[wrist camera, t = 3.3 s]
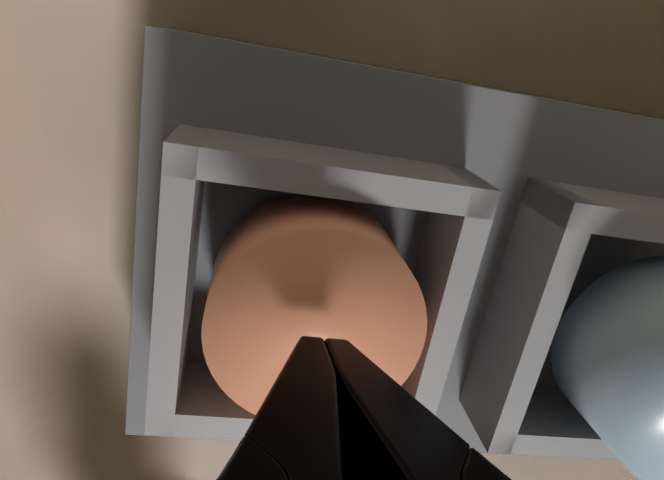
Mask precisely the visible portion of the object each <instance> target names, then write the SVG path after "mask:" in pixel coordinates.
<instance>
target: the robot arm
mask: <svg viewBox="0 0 664 480" xmlns="http://www.w3.org/2000/svg"><path fill="white" fill-rule="evenodd" d="M216 480H511V479H510V478H509V477H508V476H506V475H505V474H504V473H503V472H501V471H500V470H499V469H498V468H497V467H495V466H494V465H493V464H492V463H490V462H489V461H488V460H487V459H486V458H485V457H483V456H482V455H481V454H480V453H479V452H478V451H476V450H475V449H474V448H470V445H469V444H468V443H467V442H466V441H465V440H463V439H462V438H461V437H460V436H459V435H458V434H456V433H455V432H454V431H453V430H452V429H451V428H449V427H448V426H447V425H446V424H445V423H444V422H442V421H441V420H440V419H439V418H438V417H437V416H435V415H434V414H433V413H432V412H431V411H430V410H428V409H427V408H426V407H425V406H424V405H423V404H421V403H420V402H419V401H418V400H417V399H416V398H414V397H413V396H412V395H411V394H410V393H409V392H407V391H406V390H405V389H404V388H403V387H402V386H400V385H399V384H398V383H397V382H396V381H395V380H393V379H392V378H391V377H390V376H389V375H388V374H386V373H385V372H384V371H383V370H382V369H381V368H379V367H378V366H377V365H376V364H375V363H374V362H372V361H371V360H370V359H369V358H368V357H367V356H365V355H364V354H363V353H362V352H361V351H360V350H358V349H357V348H356V347H355V346H354V345H352V344H351V343H350V342H349V341H348V340H345V339H334V338H327V339H325V340H324V339H323V338H321V337H311V336H302V337H300V339H299V340H298V342H297V344H296V345H295V347H294V349H293V351H292V352H291V354H290V356H289V358H288V359H287V361H286V363H285V365H284V366H283V368H282V370H281V372H280V373H279V375H278V377H277V379H276V381H275V382H274V384H273V386H272V388H271V389H270V391H269V393H268V395H267V396H266V398H265V400H264V402H263V403H262V405H261V407H260V409H259V410H258V412H257V414H256V416H255V417H254V419H253V421H252V423H251V424H250V426H249V428H248V430H247V431H246V433H245V435H244V437H243V438H242V440H241V441H240V443H239V445H238V447H237V448H236V450H235V452H234V453H233V455H232V457H231V458H230V460H229V461H228V463H227V464H226V466H225V468H224V469H223V471H222V472H221V474H220V475H219V477H218V478H217V479H216Z"/></svg>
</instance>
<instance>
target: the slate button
mask: <svg viewBox="0 0 664 480" xmlns="http://www.w3.org/2000/svg"><path fill="white" fill-rule="evenodd" d="M551 365H552V371H553V375H554V378H555V381H556V383H557V385H558V387H559V389H560V390H561V391H562V392H563V394H564V395H565V396H566V397H567V399H568V400H569V401H570V402H571V403H572V405H573V406H574V407H575V408H576V409H577V411H578V412H579V413H580V414H581V415H582V416H583V418H584V419H585V420H586V421H587V422H588V424H589V425H590V426H591V427H592V428H593V430H594V431H595V432H596V433H597V434H598V435H599V437H600V438H601V439H602V440H603V441H604V443H605V444H606V445H607V446H608V447H609V448H610V450H611V451H612V452H613V453H614V454H615V456H616V457H617V458H618V459H619V460H620V462H621V463H622V464H623V465H624V466H625V467H626V469H627V470H628V471H629V472H630V473H632V474H633V475H634V476H635V477H637V478H638V479H640V480H664V256H652V257H647V258H641V259H637V260H634V261H631V262H628V263H626V264H623V265H621V266H619V267H616V268H614V269H613V270H611V271H609V272H607V273H606V274H604V275H603V276H601V277H600V278H598V279H597V280H596V281H594V282H593V283H592V284H591V285H589V286H588V287H587V288H586V289H585V290H584V291H583V292H582V293H581V294H580V295H579V296H578V297H577V298H576V299H575V300H574V302H573V303H572V304H571V306H570V307H569V308H568V310H567V311H566V313H565V315H564V316H563V318H562V320H561V322H560V324H559V326H558V329H557V331H556V334H555V337H554V340H553V345H552V351H551Z"/></svg>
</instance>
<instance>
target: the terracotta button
mask: <svg viewBox="0 0 664 480" xmlns="http://www.w3.org/2000/svg"><path fill="white" fill-rule="evenodd" d="M426 334H427V311H426V305H425V301H424V297H423V294H422V291H421V289H420V286H419V284H418V282H417V280H416V279H415V277H414V276H413V274H412V272H411V271H410V269H409V267H408V266H407V264H406V263H405V261H404V260H403V258H402V256H401V255H400V253H399V252H398V250H397V248H396V247H395V245H394V244H393V242H392V241H391V239H390V237H389V236H388V234H387V233H386V231H385V229H384V228H383V227H382V226H381V224H380V223H379V222H378V221H377V220H376V219H375V218H374V217H373V216H372V215H371V214H370V213H369V212H367V211H366V210H364V209H363V208H361V207H360V206H358V205H357V204H355V203H353V202H351V201H347V200H340V199H333V198H325V197H318V196H311V195H303V194H296V193H295V194H289V195H284V196H281V197H278V198H275V199H272V200H269V201H267V202H265V203H263V204H261V205H259V206H258V207H256V208H254V209H253V210H251V211H250V212H248V213H247V214H246V215H245V216H244V217H242V218H241V219H240V220H239V221H238V222H237V223H236V224H235V225H234V226H233V228H232V229H231V230H230V231H229V233H228V234H227V236H226V237H225V239H224V241H223V243H222V245H221V247H220V249H219V251H218V254H217V257H216V260H215V264H214V269H213V273H212V278H211V283H210V287H209V292H208V296H207V301H206V305H205V310H204V315H203V321H202V333H201V340H202V347H203V353H204V356H205V360H206V363H207V366H208V368H209V370H210V372H211V374H212V376H213V378H214V379H215V381H216V382H217V384H218V385H219V387H220V388H221V389H222V390H223V391H224V392H225V393H226V395H227V396H228V397H229V398H231V399H232V400H233V401H234V402H235V403H236V404H238V405H239V406H241V407H242V408H244V409H245V410H247V411H248V412H250V413H252V414H254V415H256V414H257V412H258V410H259V409H260V407H261V405H262V403H263V402H264V400H265V398H266V396H267V395H268V393H269V391H270V389H271V388H272V386H273V384H274V382H275V381H276V379H277V377H278V375H279V373H280V372H281V370H282V368H283V366H284V365H285V363H286V361H287V359H288V358H289V356H290V354H291V352H292V351H293V349H294V347H295V345H296V344H297V342H298V340H299V339H300V337H302V336H311V337H321V338H323V339H324V340H325V339H327V338H334V339H345V340H348V341H349V342H350V343H351V344H352V345H354V346H355V347H356V348H357V349H358V350H360V351H361V352H362V353H363V354H364V355H365V356H367V357H368V358H369V359H370V360H371V361H372V362H374V363H375V364H376V365H377V366H378V367H379V368H381V369H382V370H383V371H384V372H385V373H386V374H388V375H389V376H390V377H391V378H392V379H393V380H395V381H396V382H397V383H398V384H399V385H400V386H402V384H403V383H404V382H405V381H406V380H407V379H408V377H409V376H410V374H411V373H412V371H413V370H414V368H415V366H416V364H417V362H418V360H419V358H420V356H421V353H422V350H423V347H424V344H425V339H426Z"/></svg>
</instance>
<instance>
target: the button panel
mask: <svg viewBox="0 0 664 480" xmlns="http://www.w3.org/2000/svg"><path fill="white" fill-rule="evenodd" d="M295 193H296V194H303V195H311V196H318V197H325V198H333V199H340V200H347V201H351V202H353V203H355V204H357V205H358V206H360V207H361V208H363V209H364V210H366V211H367V212H369V213H370V214H371V215H372V216H373V217H374V218H375V219H376V220H377V221H378V222H379V223H380V224H381V226H382V227H383V228H384V229H385V231H386V233H387V234H388V236H389V237H390V239H391V241H392V242H393V244H394V245H395V247H396V248H397V250H398V252H399V253H400V255H401V256H402V258H403V260H404V261H405V263H406V264H407V266H408V267H409V269H410V271H411V272H412V274H413V276H414V277H415V279H416V280H417V282H418V284H419V286H420V289H421V291H422V294H423V297H424V301H425V305H426V311H427V334H426V339H425V344H424V347H423V350H422V353H421V356H420V358H419V360H418V362H417V364H416V366H415V368H414V370H413V371H412V373H411V374H410V376H409V377H408V379H407V380H406V381H405V382H404V383H403V384H402V387H403V388H404V389H405V390H406V391H407V392H409V393H410V394H411V395H412V396H413V397H414V398H416V399H417V400H418V401H419V402H420V403H421V404H423V405H424V406H425V407H426V408H427V409H428V410H430V411H431V412H432V413H433V414H434V415H435V416H437V417H438V418H439V419H440V420H441V421H442V422H444V423H445V424H446V425H447V426H448V427H449V428H451V429H452V430H453V431H454V432H455V433H456V434H458V435H459V436H460V437H461V438H462V439H463V440H465V441H466V442H467V443H468V444H469V445H470V448H474V449H475V450H476V451H478V452H479V453H493V454H512V455H532V456H551V457H571V458H590V459H610V460H619V459H618V458H617V457H616V456H615V454H614V453H613V452H612V451H611V450H610V448H609V447H608V446H607V445H606V444H605V443H604V441H603V440H602V439H601V438H600V437H599V435H598V434H597V433H596V432H595V431H594V430H593V428H592V427H591V426H590V425H589V424H588V422H587V421H586V420H585V419H584V418H583V416H582V415H581V414H580V413H579V412H578V411H577V409H576V408H575V407H574V406H573V405H572V403H571V402H570V401H569V400H568V399H567V397H566V396H565V395H564V394H563V392H562V391H561V390H560V389H559V387H558V385H557V383H556V381H555V378H554V375H553V371H552V365H551V351H552V345H553V340H554V337H555V334H556V331H557V329H558V326H559V324H560V322H561V320H562V318H563V316H564V315H565V313H566V311H567V310H568V308H569V307H570V306H571V304H572V303H573V302H574V300H575V299H576V298H577V297H578V296H579V295H580V294H581V293H582V292H583V291H584V290H585V289H586V288H587V287H588V286H589V285H591V284H592V283H593V282H594V281H596V280H597V279H598V278H600V277H601V276H603V275H604V274H606V273H607V272H609V271H611V270H613V269H614V268H616V267H619V266H621V265H623V264H626V263H628V262H631V261H634V260H637V259H641V258H647V257H652V256H664V119H659V118H653V117H648V116H643V115H637V114H632V113H626V112H621V111H616V110H610V109H605V108H599V107H594V106H589V105H583V104H578V103H572V102H567V101H561V100H556V99H551V98H545V97H540V96H534V95H529V94H524V93H518V92H513V91H507V90H502V89H497V88H491V87H486V86H480V85H475V84H470V83H464V82H459V81H453V80H448V79H443V78H437V77H432V76H426V75H421V74H415V73H410V72H405V71H399V70H394V69H388V68H383V67H378V66H372V65H367V64H361V63H356V62H351V61H345V60H340V59H334V58H329V57H324V56H318V55H313V54H307V53H302V52H296V51H291V50H286V49H280V48H275V47H269V46H264V45H259V44H253V43H248V42H242V41H237V40H232V39H226V38H221V37H215V36H210V35H205V34H199V33H194V32H188V31H183V30H177V29H172V28H164V27H155V26H146V25H145V38H144V59H143V79H142V100H141V120H140V141H139V161H138V182H137V202H136V223H135V243H134V264H133V284H132V305H131V325H130V346H129V366H128V387H127V407H126V428H125V435H142V436H162V437H181V438H201V439H220V440H239V441H241V440H242V438H243V437H244V435H245V433H246V431H247V430H248V428H249V426H250V424H251V423H252V421H253V419H254V417H255V416H256V415H254V414H252V413H250V412H248V411H247V410H245V409H244V408H242V407H241V406H239V405H238V404H236V403H235V402H234V401H233V400H232V399H231V398H229V397H228V396H227V395H226V393H225V392H224V391H223V390H222V389H221V388H220V387H219V385H218V384H217V382H216V381H215V379H214V378H213V376H212V374H211V372H210V370H209V368H208V366H207V363H206V360H205V356H204V353H203V347H202V340H201V333H202V321H203V315H204V310H205V305H206V301H207V296H208V292H209V287H210V283H211V278H212V273H213V269H214V264H215V260H216V257H217V254H218V251H219V249H220V247H221V245H222V243H223V241H224V239H225V237H226V236H227V234H228V233H229V231H230V230H231V229H232V228H233V226H234V225H235V224H236V223H237V222H238V221H239V220H240V219H241V218H242V217H244V216H245V215H246V214H247V213H248V212H250V211H251V210H253V209H254V208H256V207H258V206H259V205H261V204H263V203H265V202H267V201H269V200H272V199H275V198H278V197H281V196H284V195H289V194H295Z"/></svg>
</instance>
